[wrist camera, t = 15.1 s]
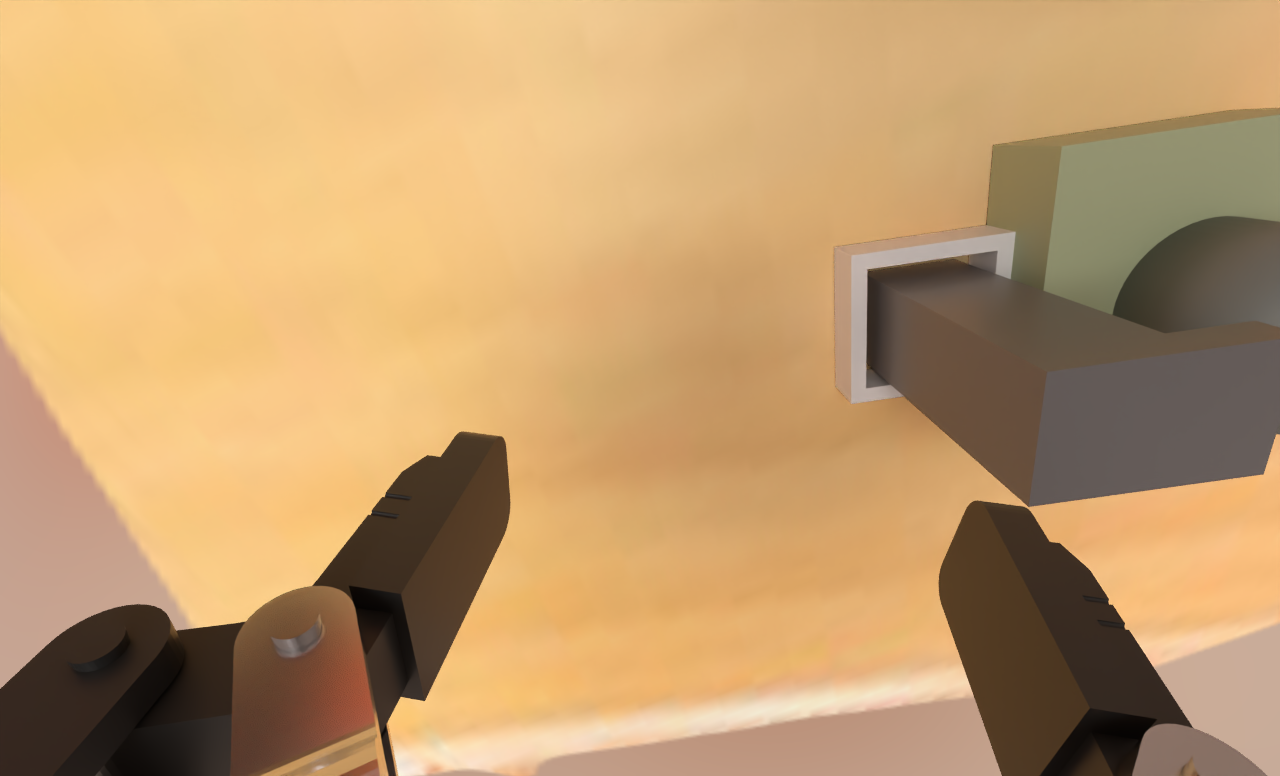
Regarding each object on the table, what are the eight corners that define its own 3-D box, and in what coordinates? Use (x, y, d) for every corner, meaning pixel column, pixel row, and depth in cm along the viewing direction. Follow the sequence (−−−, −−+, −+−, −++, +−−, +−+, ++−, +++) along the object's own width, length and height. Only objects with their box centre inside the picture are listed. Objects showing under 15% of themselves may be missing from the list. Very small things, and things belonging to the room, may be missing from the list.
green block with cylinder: (1232, 110, 30) (1549, 95, 20) (1166, 399, 36) (1383, 501, 26) (833, 168, 30) (944, 183, 20) (836, 445, 36) (922, 564, 26)
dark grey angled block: (861, 358, 34) (1028, 506, 20) (861, 272, 32) (1047, 371, 19) (1000, 338, 34) (1263, 474, 20) (1009, 251, 32) (1306, 335, 18)
